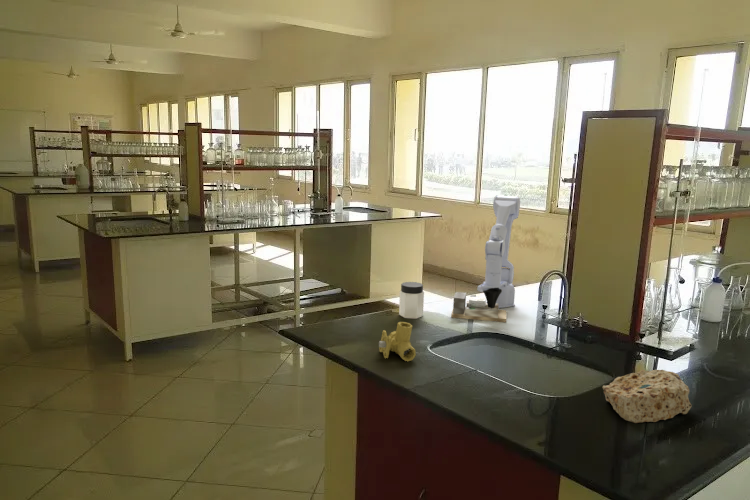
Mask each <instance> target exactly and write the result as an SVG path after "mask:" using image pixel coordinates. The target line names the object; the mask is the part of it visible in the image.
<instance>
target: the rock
mask: <svg viewBox="0 0 750 500" xmlns="http://www.w3.org/2000/svg"><path fill="white" fill-rule="evenodd" d="M602 390H603V394H604V396H605V400H606V402H609V403H610V404H611V406H612V408H613V410H614V411H615V412H616V413H617V414H618V415H619V416H620V418H622V419H623V420H625V421H628V422H630V423H634V424H638V423H645V422H647V423H649V422H651V423H652V422H653V423H656V422H659V421H660V420H664V421H666V420H669V419H673V418H674V417H676V415H678V414H681V415H687V414H688V413H689V411H690V410H691V408H692V404H691V402H690V400H689V395H690V388H689V386H688V385H687V384H685V382H684V381H683V380H682V379H681V377H680V375H679V373H675V372H673V371H668V370H665V369H654V370H651V371H649V370H647V371H646V370H645V369H642V370H640V371H638V372H632V373H628V374H625V375H622V376H617V377H616V378H614V380H613V381H612V382H610V383H609V384H608V385H602Z"/></svg>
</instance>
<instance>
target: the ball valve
mask: <svg viewBox="0 0 750 500" xmlns="http://www.w3.org/2000/svg"><path fill="white" fill-rule="evenodd" d="M396 325H397V326H396V330H393V331H391V332H390V333H389V334H387V331H386V330H385V329H384V330H382V332H381V333H382V334H381V339H380V340H379V342H378V349H379V353H383V358H384V359H386V358H387V359H388V358H389V355H390V351H391V352H395V354H396V355H398V356H400V358H401V359H402V360H404V361H405V362H406V361H407V362H410V361H411V362H412V361H413V360H414V358H416V355H417V354H416V353H417V352H416V349H415V348H414V347H413V346H412V343H411V341H410V340H411V335H412V331H413V325H412V324H411V323H410V322H406V321H399V322H397V324H396Z"/></svg>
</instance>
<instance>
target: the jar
mask: <svg viewBox="0 0 750 500" xmlns="http://www.w3.org/2000/svg"><path fill="white" fill-rule="evenodd" d="M400 287H401V288H400V291H399V303H398V305H399V310H398V315H399V316H401V317H403V318H404V319H414V320H415V319H420V317H421V318H422V317H423V316H424V303H425V302H424V301H425V299H424V298H425V292H424V284H422V283H421V282H417V281H406V282H405V281H404V282H402V283H401V284H400Z"/></svg>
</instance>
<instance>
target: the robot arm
mask: <svg viewBox="0 0 750 500" xmlns="http://www.w3.org/2000/svg"><path fill="white" fill-rule="evenodd" d="M492 203H493V204H492V207H493V212H494V216H495V217H496V220H495V224H494V225H493V226H492V227H491V230H490V232H489V233H490V234H489V238H488V240H487V241H486V242H485V247H484V251H485V253H484V254H485V257H484V258H485V273H484V274H485V277H484V281H482V283H481V284H480V285H477V288H476V290H477V291H478V292H481V293H484V296H485V298H486V303H487V304H488V307H489V308H494V307H495V304H496V303H498V304H499V307H498V309H503V308H510V307H515V306H516V304H515V297H516V296H515V295H516V294H515V293H516V290H515V286H514V284H513V283H514V282H513V281H514V276H515V270H514V269H515V267H514V264H513V263H512V262H510V260H509V251H510V244H511V243H510V242H511V237H512V236H511V235H512V234H511V233H512V228H513V223H514V220H516V219H518V218H519V214H520V208H521V198H520V196H511V195H509V196H506V195H495V196H494V198H493V202H492Z"/></svg>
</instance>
